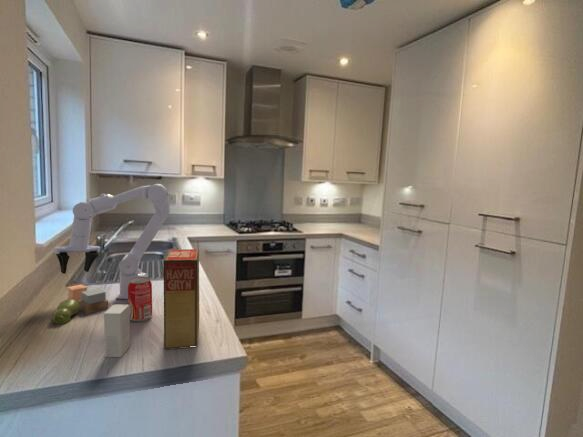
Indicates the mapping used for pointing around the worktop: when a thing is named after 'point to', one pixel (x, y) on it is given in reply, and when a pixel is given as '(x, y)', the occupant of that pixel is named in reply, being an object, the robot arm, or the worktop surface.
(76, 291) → the terracotta cube
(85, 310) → the walnut base
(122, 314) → the skincare box
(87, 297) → the slate block
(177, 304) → the food packaging
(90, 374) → the worktop surface
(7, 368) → the worktop surface
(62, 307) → the pear
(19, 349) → the worktop surface
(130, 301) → the soda can
